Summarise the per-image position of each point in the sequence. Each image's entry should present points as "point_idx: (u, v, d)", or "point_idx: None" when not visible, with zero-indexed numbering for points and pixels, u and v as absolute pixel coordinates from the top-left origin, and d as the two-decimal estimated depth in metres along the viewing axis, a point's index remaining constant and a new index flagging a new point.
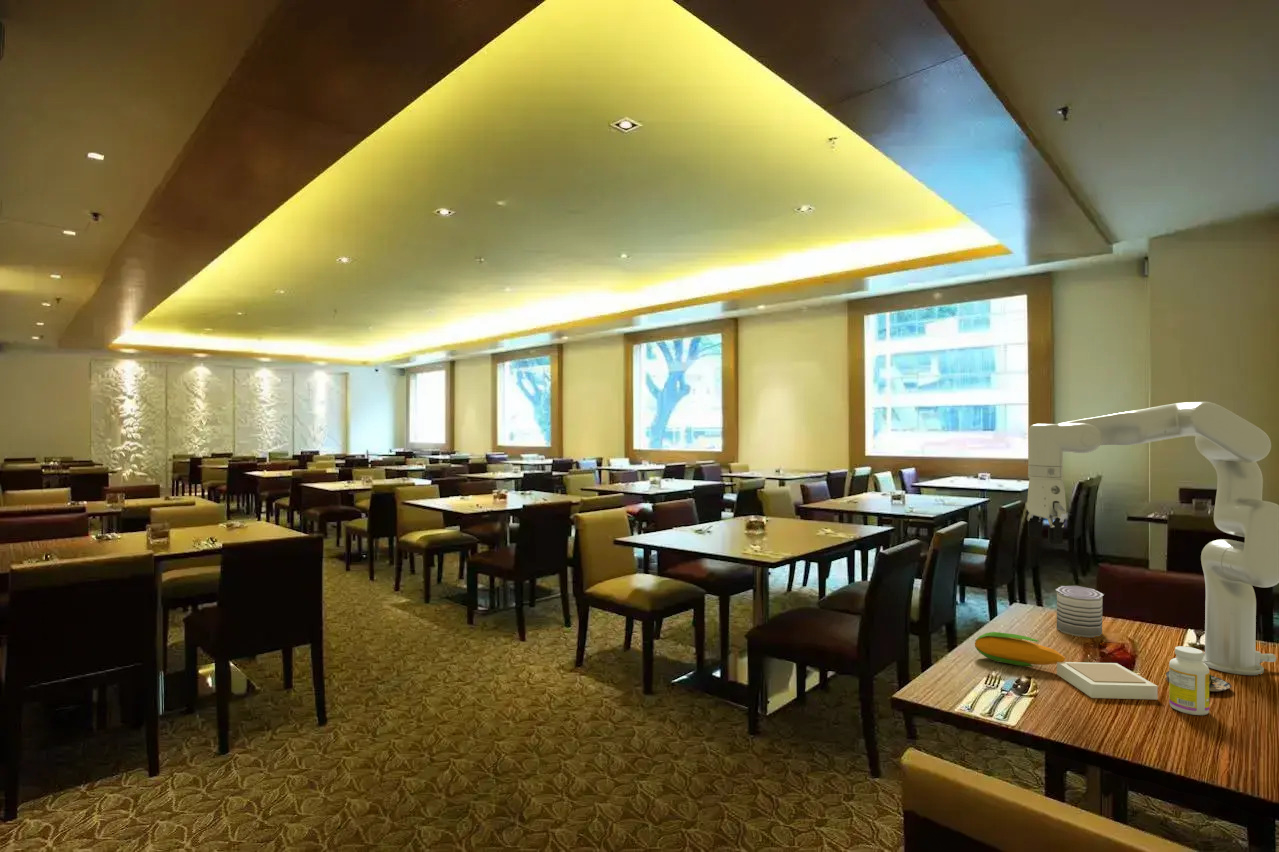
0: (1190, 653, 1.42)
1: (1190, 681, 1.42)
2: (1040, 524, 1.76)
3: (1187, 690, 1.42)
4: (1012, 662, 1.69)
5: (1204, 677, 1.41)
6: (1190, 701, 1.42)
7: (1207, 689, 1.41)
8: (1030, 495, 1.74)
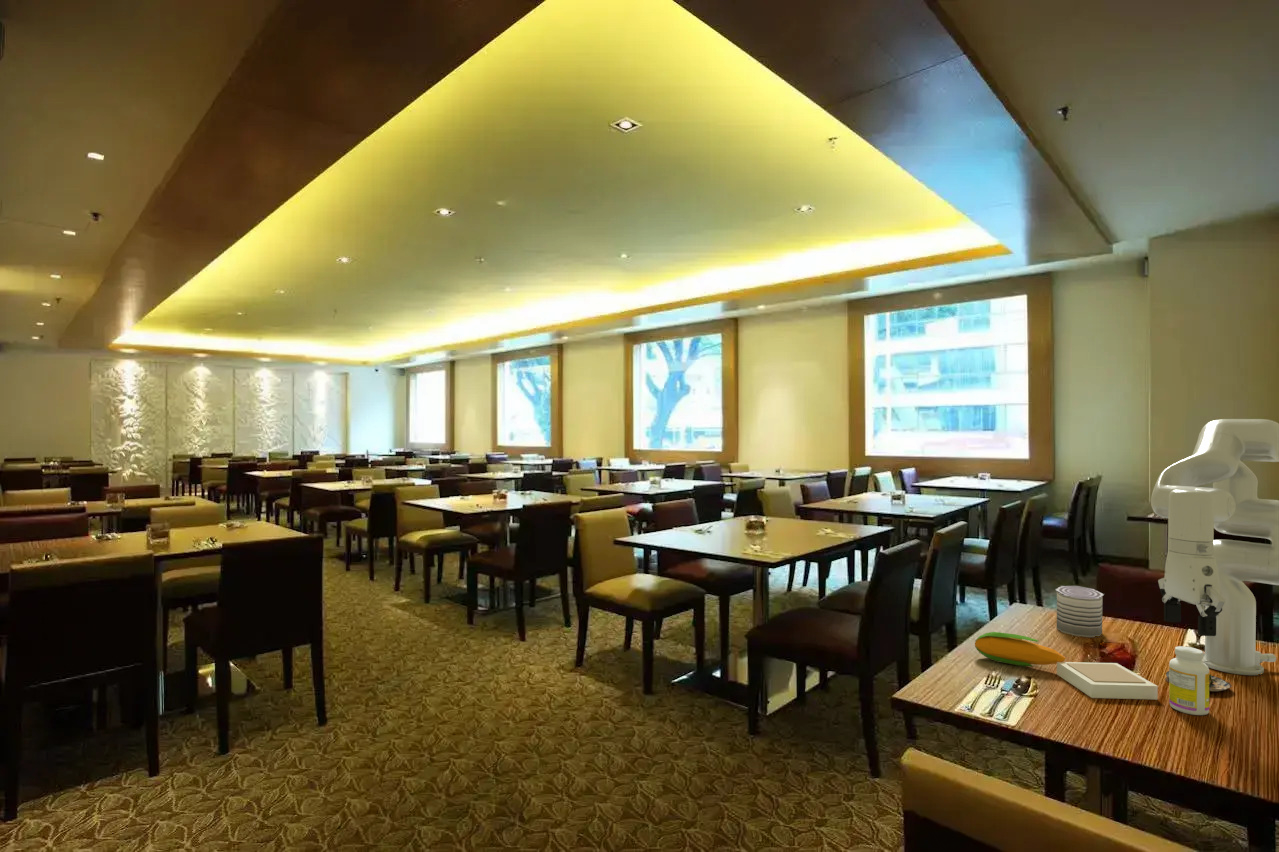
0: (1190, 653, 1.42)
1: (1190, 681, 1.42)
2: (1179, 607, 1.48)
3: (1187, 690, 1.42)
4: (1012, 662, 1.69)
5: (1204, 677, 1.41)
6: (1190, 701, 1.42)
7: (1207, 689, 1.41)
8: (1169, 573, 1.47)
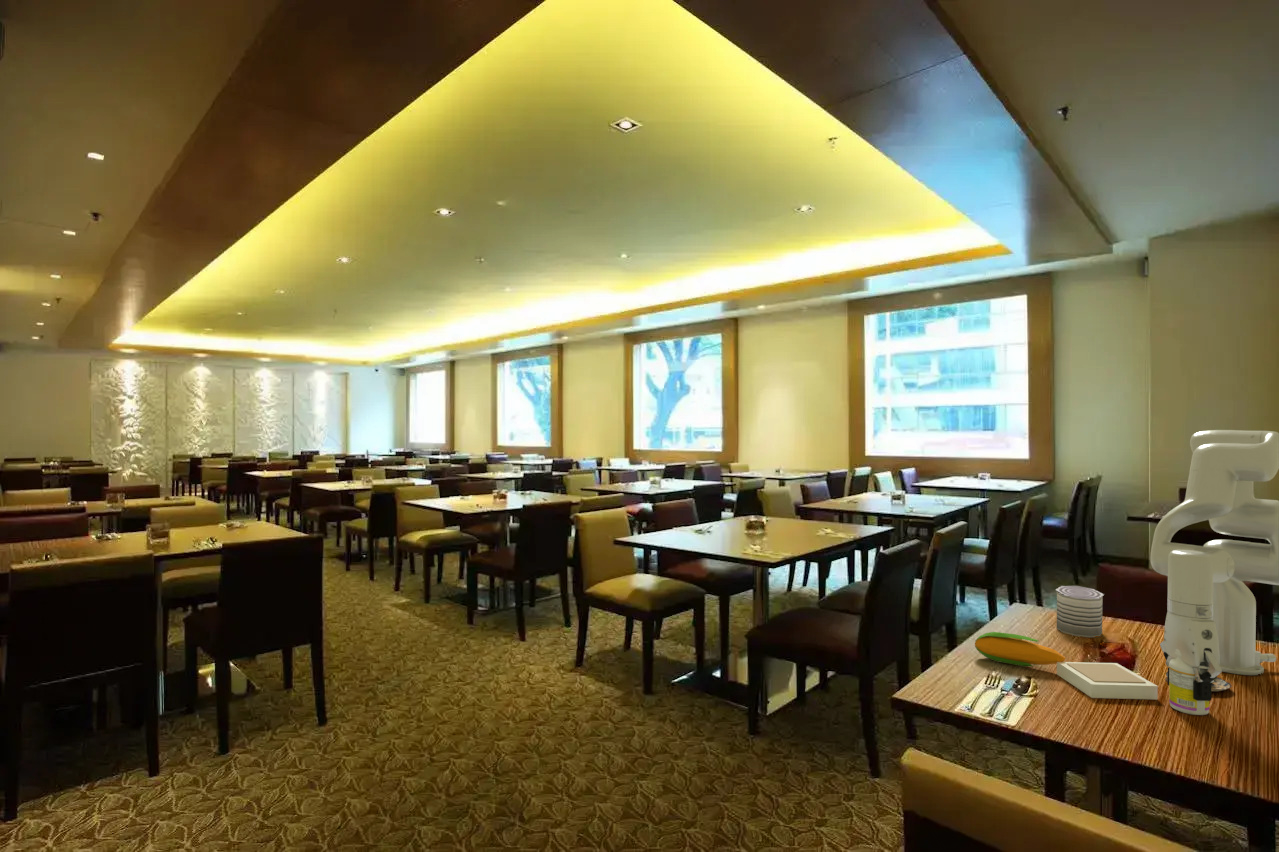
0: None
1: (1190, 681, 1.42)
2: None
3: (1187, 690, 1.42)
4: (1012, 662, 1.69)
5: None
6: (1190, 701, 1.42)
7: None
8: (1169, 633, 1.47)
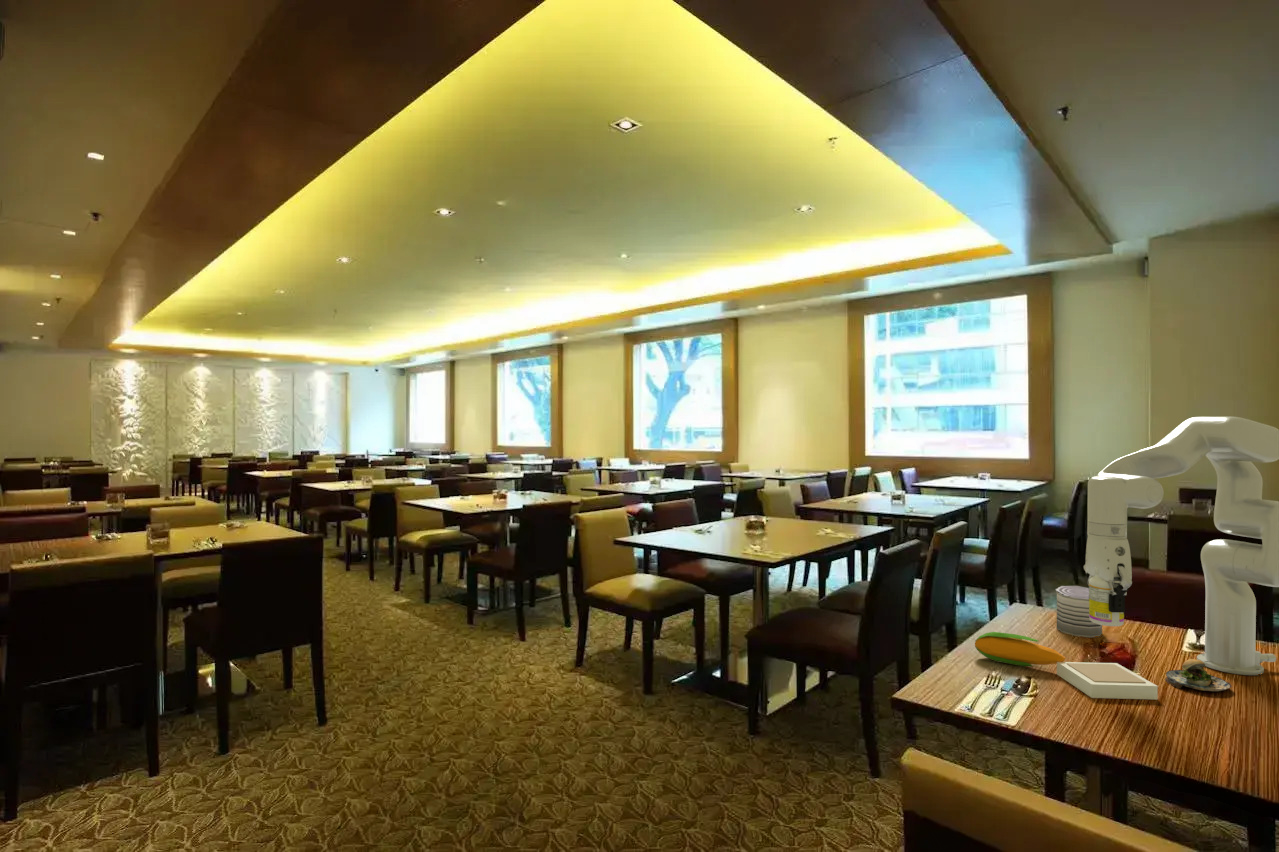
0: None
1: (1106, 595, 1.54)
2: None
3: (1103, 603, 1.54)
4: (1012, 662, 1.69)
5: None
6: (1106, 613, 1.54)
7: None
8: (1089, 554, 1.59)
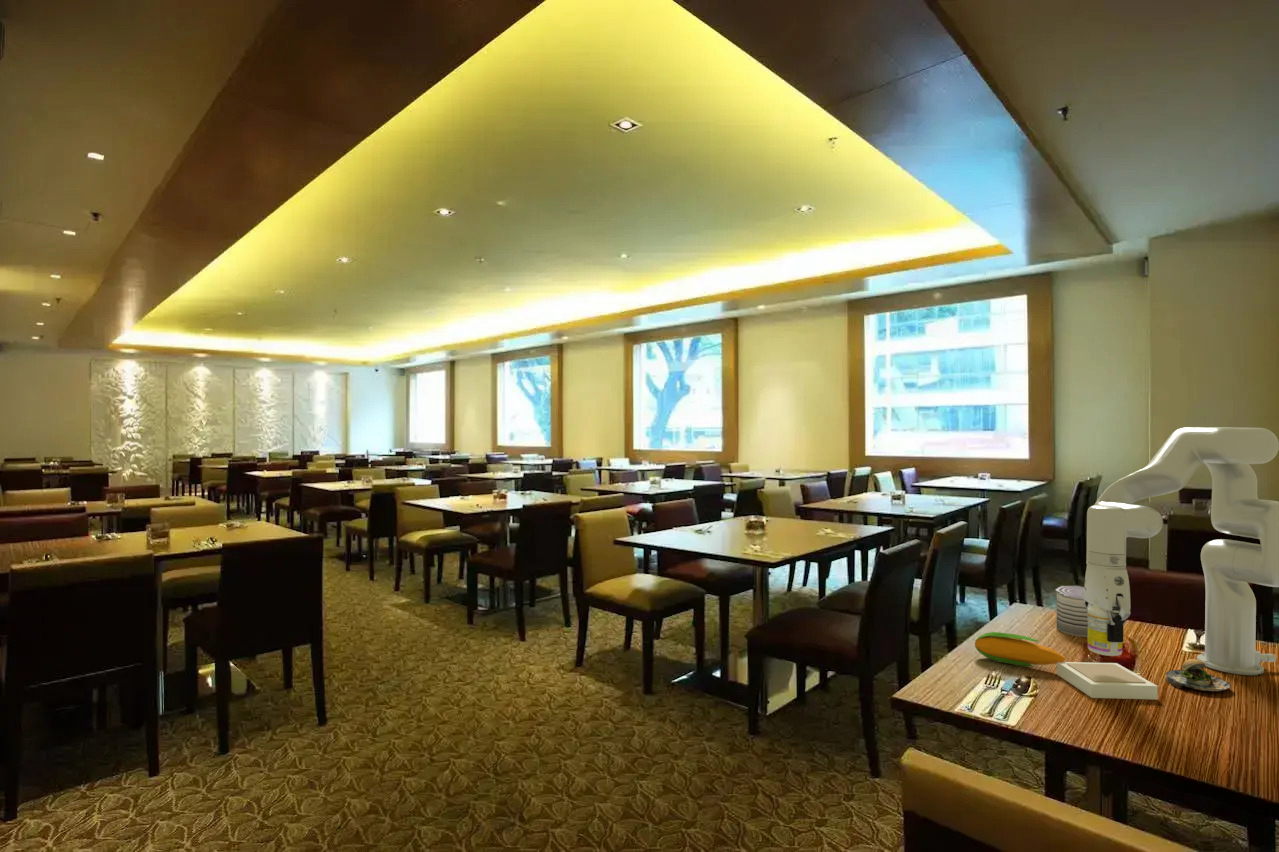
0: None
1: (1105, 625, 1.54)
2: None
3: (1102, 633, 1.54)
4: (1012, 662, 1.69)
5: None
6: (1104, 643, 1.54)
7: None
8: (1088, 583, 1.59)
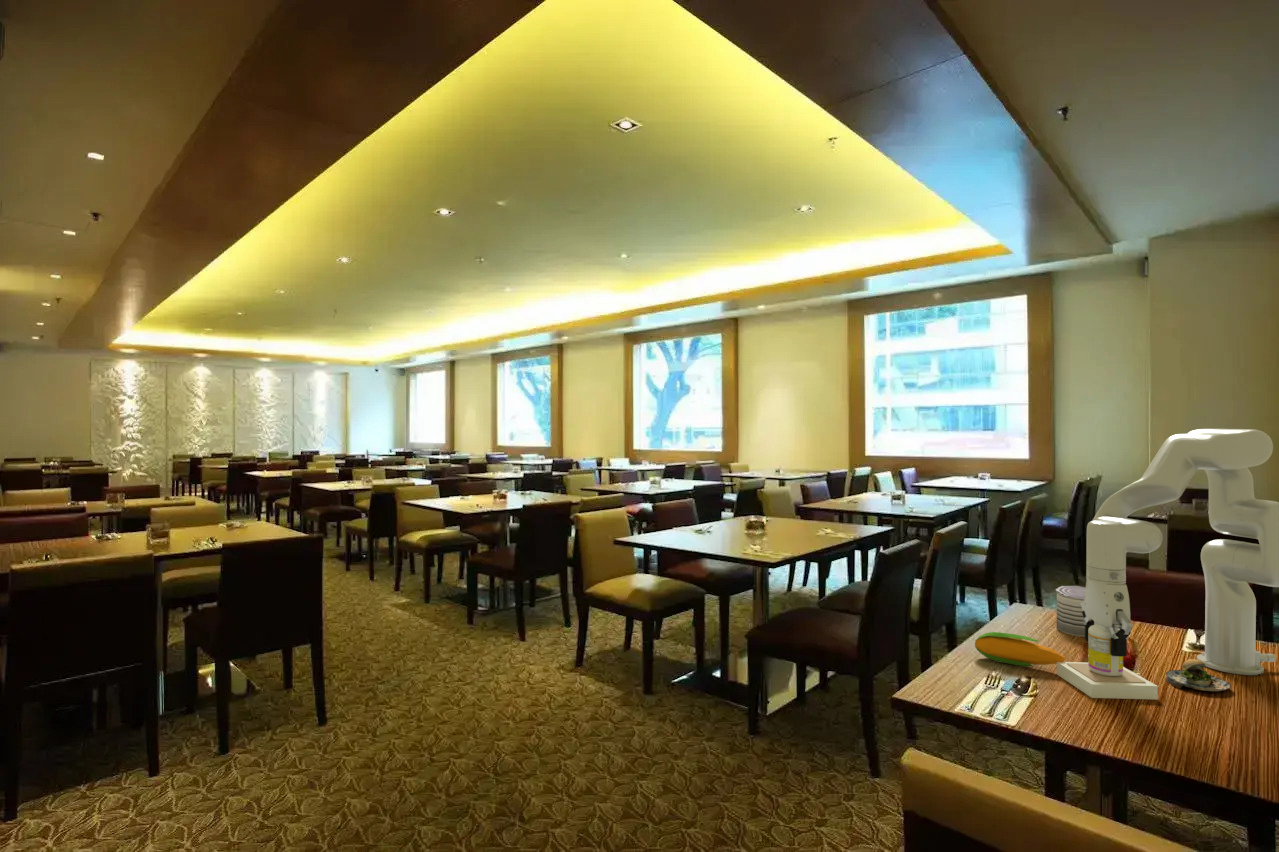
0: None
1: (1105, 645, 1.54)
2: None
3: (1103, 653, 1.54)
4: (1012, 662, 1.69)
5: None
6: (1105, 663, 1.54)
7: None
8: (1088, 598, 1.59)
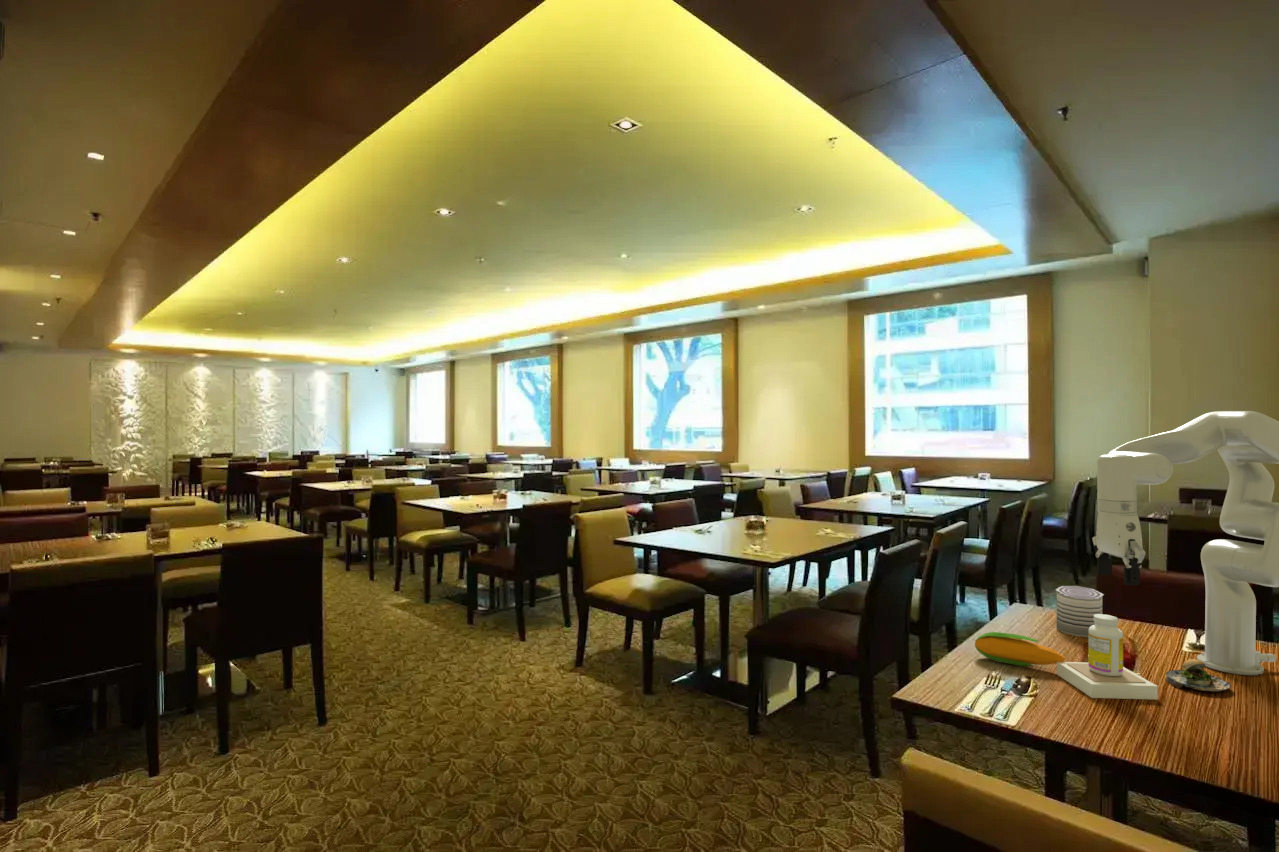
0: (1106, 619, 1.55)
1: (1106, 645, 1.54)
2: (1110, 561, 1.64)
3: (1103, 653, 1.54)
4: (1012, 662, 1.69)
5: (1118, 641, 1.54)
6: (1105, 663, 1.54)
7: (1121, 652, 1.54)
8: (1100, 531, 1.62)
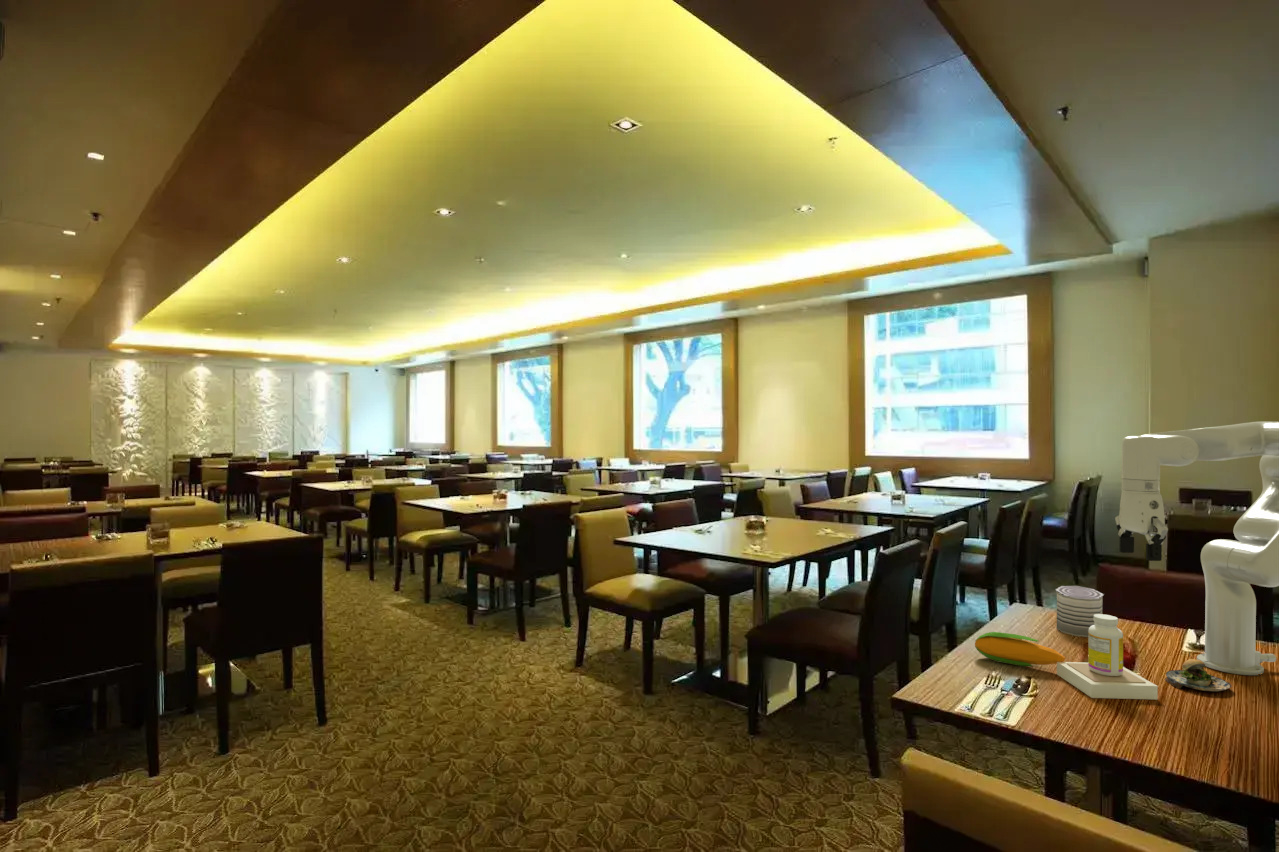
0: (1106, 619, 1.55)
1: (1106, 645, 1.54)
2: (1133, 539, 1.70)
3: (1103, 653, 1.54)
4: (1012, 662, 1.69)
5: (1118, 641, 1.54)
6: (1105, 663, 1.54)
7: (1121, 652, 1.54)
8: (1123, 510, 1.68)
